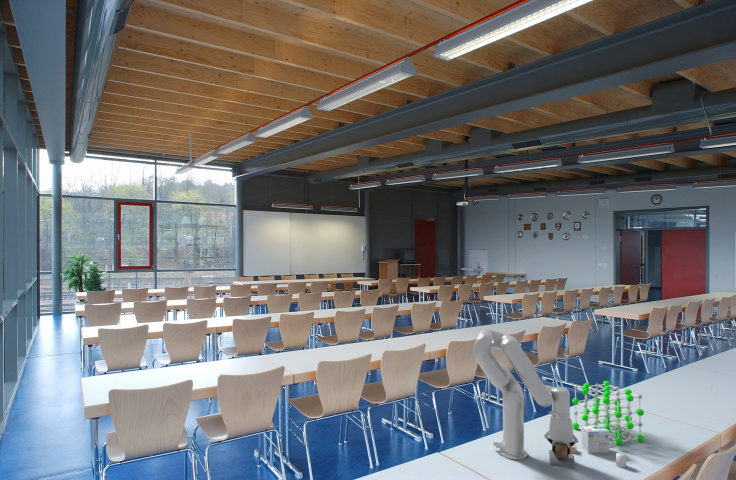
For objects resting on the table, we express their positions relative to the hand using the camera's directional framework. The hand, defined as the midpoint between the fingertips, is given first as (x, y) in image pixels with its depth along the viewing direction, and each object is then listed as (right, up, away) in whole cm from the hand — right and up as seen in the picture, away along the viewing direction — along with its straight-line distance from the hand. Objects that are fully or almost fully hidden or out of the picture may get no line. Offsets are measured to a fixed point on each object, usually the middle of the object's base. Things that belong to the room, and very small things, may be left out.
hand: (561, 454), depth 206 cm
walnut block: (0, -1, 0) cm, 1 cm away
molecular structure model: (+36, -3, +27) cm, 46 cm away
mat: (0, -3, 0) cm, 3 cm away
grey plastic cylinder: (+25, -3, -6) cm, 25 cm away
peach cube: (+9, -3, +9) cm, 13 cm away
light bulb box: (+21, -3, +10) cm, 23 cm away
